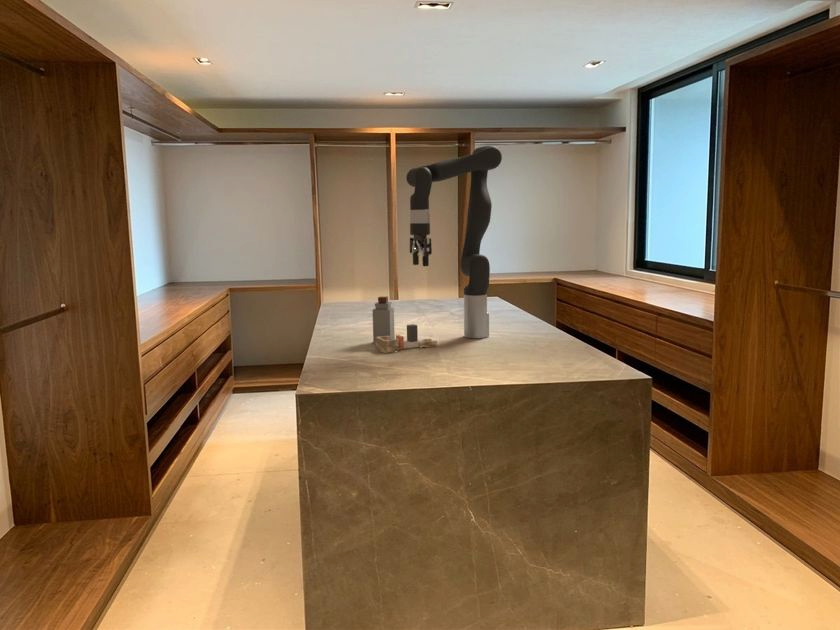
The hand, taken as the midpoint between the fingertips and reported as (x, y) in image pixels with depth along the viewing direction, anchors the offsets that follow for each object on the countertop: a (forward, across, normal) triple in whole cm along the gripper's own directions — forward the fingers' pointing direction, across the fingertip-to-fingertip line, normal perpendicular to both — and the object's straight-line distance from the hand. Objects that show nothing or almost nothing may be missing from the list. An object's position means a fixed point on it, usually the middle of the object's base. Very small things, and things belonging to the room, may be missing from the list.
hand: (420, 265), depth 244 cm
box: (+30, -4, +16) cm, 34 cm away
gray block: (+30, -4, +6) cm, 31 cm away
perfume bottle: (+30, +9, +12) cm, 34 cm away
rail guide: (+30, -4, 0) cm, 30 cm away
